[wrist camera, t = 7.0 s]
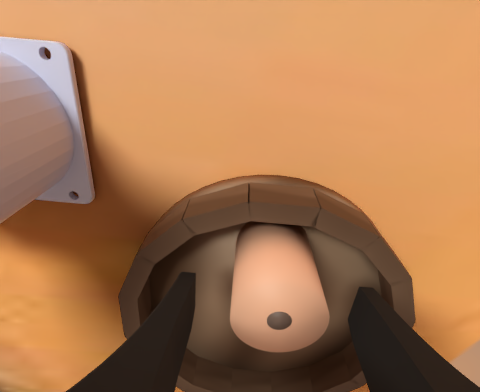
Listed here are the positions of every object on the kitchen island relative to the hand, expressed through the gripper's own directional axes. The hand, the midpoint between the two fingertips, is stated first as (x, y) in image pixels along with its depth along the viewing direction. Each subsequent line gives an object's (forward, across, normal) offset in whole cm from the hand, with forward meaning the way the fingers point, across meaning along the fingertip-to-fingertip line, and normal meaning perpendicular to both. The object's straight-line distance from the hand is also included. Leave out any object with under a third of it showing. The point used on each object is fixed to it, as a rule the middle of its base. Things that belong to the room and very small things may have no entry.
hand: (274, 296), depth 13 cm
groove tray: (+5, 0, +4) cm, 7 cm away
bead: (+4, 0, 0) cm, 4 cm away
